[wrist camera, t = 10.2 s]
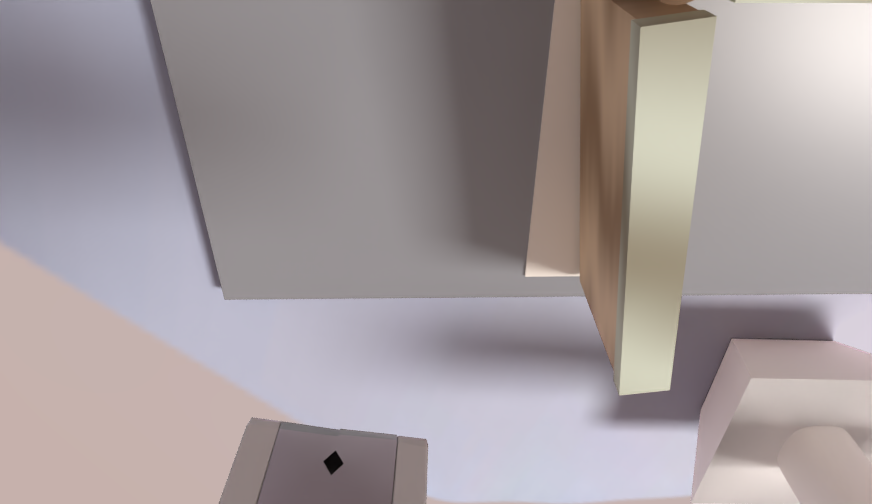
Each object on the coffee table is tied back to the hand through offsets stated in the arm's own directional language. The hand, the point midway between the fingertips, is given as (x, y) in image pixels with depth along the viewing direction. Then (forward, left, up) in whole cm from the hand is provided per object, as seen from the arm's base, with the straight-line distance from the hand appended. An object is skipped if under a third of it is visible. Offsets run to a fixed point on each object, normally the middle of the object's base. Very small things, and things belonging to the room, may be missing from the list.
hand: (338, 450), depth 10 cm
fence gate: (-7, -2, -10) cm, 12 cm away
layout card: (-7, -3, -11) cm, 13 cm away
